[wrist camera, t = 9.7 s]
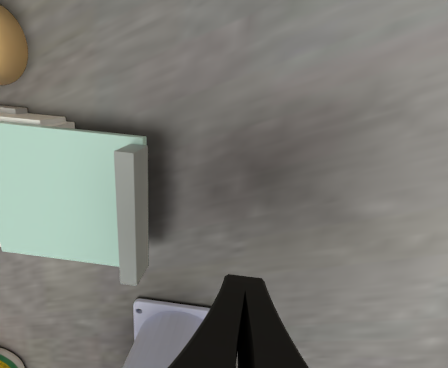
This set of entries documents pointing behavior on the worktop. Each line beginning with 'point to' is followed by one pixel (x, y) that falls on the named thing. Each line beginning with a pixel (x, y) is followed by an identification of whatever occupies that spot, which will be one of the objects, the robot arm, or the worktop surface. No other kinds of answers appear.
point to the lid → (75, 196)
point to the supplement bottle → (9, 360)
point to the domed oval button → (11, 48)
